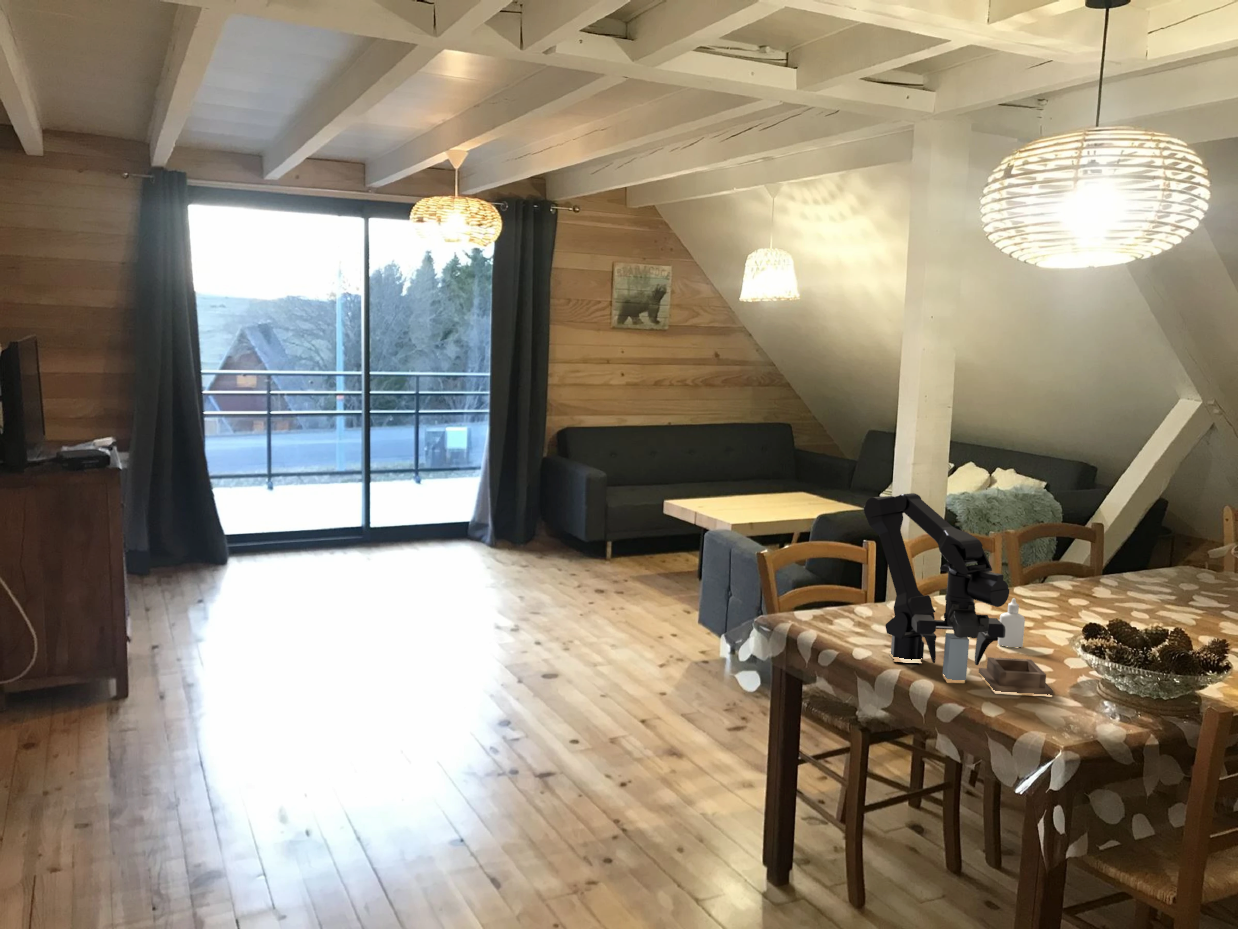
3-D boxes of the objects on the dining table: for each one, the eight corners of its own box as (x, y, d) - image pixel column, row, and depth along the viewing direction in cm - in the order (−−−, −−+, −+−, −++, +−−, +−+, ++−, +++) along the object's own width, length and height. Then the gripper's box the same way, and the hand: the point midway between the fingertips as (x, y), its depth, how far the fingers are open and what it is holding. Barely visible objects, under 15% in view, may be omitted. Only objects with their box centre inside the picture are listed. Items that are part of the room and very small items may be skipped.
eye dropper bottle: (1002, 641, 241) (1006, 594, 239) (1025, 647, 237) (1029, 599, 235) (994, 645, 238) (998, 597, 236) (1017, 651, 234) (1021, 602, 232)
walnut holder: (994, 694, 205) (996, 674, 205) (978, 674, 217) (979, 655, 216) (1052, 697, 204) (1054, 677, 204) (1033, 677, 216) (1035, 657, 216)
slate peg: (946, 683, 211) (950, 638, 210) (942, 676, 215) (945, 633, 214) (965, 684, 211) (969, 639, 210) (960, 677, 215) (964, 634, 214)
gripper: (925, 603, 203) (919, 674, 205) (1016, 607, 202) (1010, 679, 204) (913, 588, 214) (908, 656, 216) (1000, 592, 213) (994, 661, 215)
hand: (954, 663), depth 213 cm, fingers open, 9 cm apart
